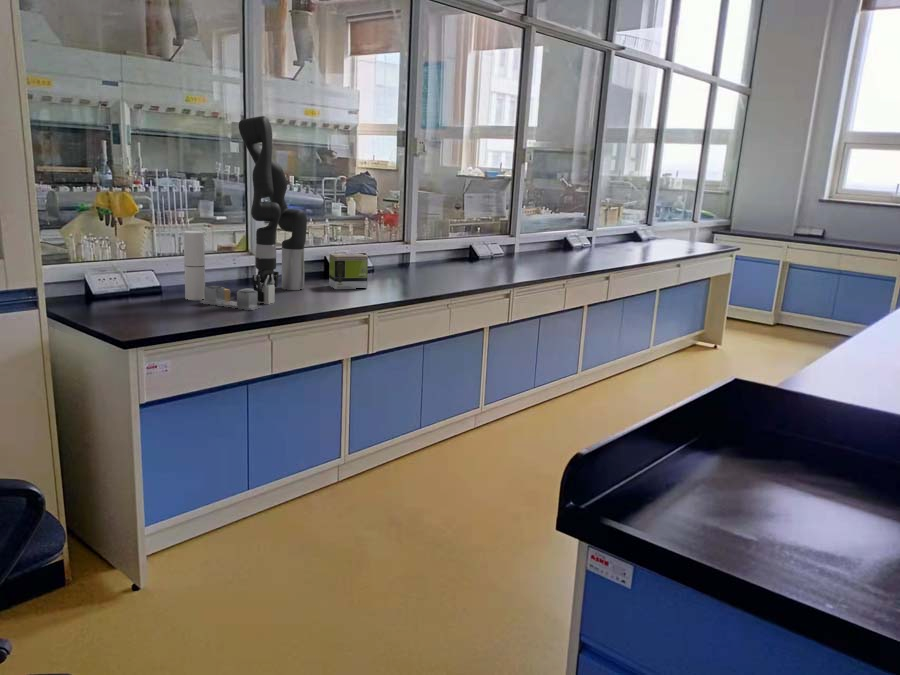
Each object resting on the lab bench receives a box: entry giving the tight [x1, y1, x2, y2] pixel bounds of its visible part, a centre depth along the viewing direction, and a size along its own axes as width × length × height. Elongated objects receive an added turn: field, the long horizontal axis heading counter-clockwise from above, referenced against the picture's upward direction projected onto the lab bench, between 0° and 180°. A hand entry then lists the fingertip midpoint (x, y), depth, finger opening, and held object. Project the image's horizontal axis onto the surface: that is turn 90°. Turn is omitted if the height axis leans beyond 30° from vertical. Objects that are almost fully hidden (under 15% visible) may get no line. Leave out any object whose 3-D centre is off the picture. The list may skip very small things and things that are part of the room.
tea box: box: [328, 253, 369, 290], centre depth 303 cm, size 15×10×15 cm
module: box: [256, 284, 276, 305], centre depth 260 cm, size 4×5×7 cm
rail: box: [199, 285, 262, 311], centre depth 252 cm, size 6×22×6 cm, turn 71°
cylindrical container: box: [183, 230, 206, 301], centre depth 258 cm, size 7×7×25 cm
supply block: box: [238, 287, 257, 292], centre depth 268 cm, size 6×6×4 cm
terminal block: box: [224, 287, 231, 301], centre depth 262 cm, size 3×4×4 cm
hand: (265, 300), depth 261 cm, fingers open, 5 cm apart
